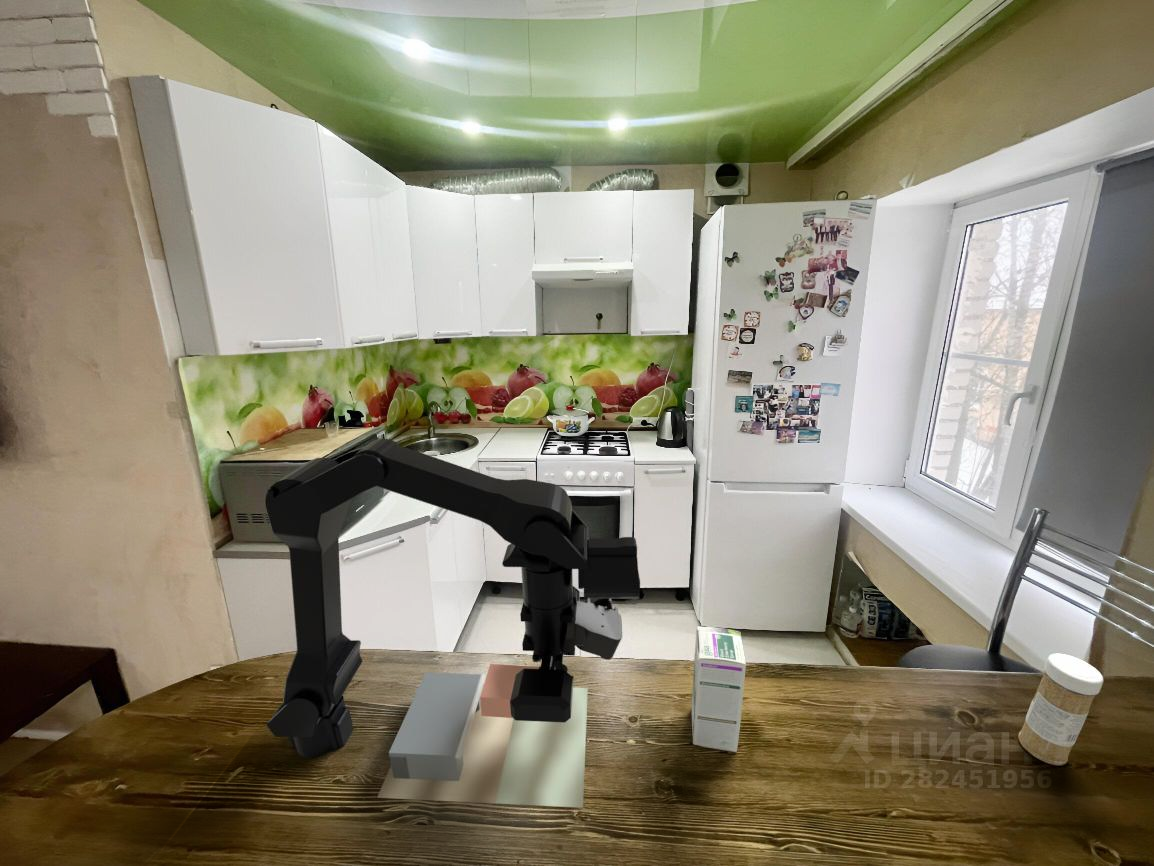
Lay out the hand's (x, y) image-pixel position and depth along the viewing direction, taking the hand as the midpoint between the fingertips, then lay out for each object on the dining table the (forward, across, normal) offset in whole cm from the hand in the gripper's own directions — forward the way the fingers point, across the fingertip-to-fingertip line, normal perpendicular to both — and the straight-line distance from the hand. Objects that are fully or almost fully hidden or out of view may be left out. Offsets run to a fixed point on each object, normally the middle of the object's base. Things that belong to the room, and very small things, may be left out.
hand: (552, 697), depth 57 cm
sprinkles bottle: (+8, +2, -62) cm, 63 cm away
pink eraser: (+1, 0, +4) cm, 4 cm away
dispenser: (+7, 0, +15) cm, 17 cm away
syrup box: (+8, +3, -21) cm, 23 cm away
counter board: (+8, 0, +8) cm, 11 cm away
